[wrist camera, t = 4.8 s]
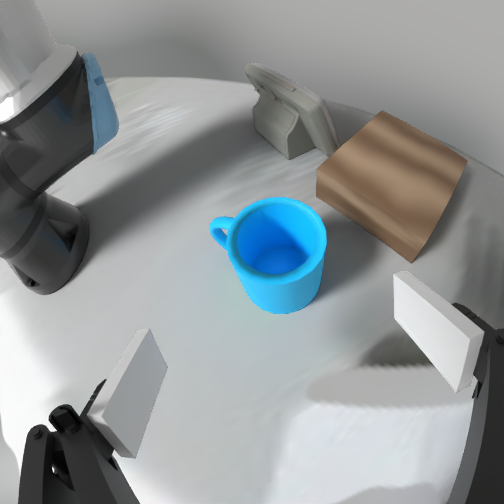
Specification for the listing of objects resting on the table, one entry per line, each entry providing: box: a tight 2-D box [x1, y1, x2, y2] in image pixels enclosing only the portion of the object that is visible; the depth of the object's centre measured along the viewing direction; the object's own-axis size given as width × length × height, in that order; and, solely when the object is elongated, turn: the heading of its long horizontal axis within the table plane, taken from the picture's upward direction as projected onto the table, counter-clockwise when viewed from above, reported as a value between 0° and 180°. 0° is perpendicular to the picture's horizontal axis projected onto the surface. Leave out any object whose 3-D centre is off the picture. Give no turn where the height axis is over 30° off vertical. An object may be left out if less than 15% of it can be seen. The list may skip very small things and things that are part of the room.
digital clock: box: [245, 63, 340, 160], centre depth 36 cm, size 16×9×11 cm, turn 19°
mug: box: [209, 197, 327, 314], centre depth 27 cm, size 12×8×8 cm
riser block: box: [316, 111, 467, 263], centre depth 31 cm, size 16×14×5 cm
